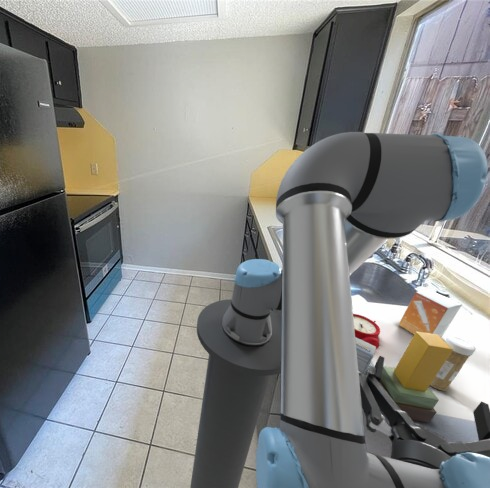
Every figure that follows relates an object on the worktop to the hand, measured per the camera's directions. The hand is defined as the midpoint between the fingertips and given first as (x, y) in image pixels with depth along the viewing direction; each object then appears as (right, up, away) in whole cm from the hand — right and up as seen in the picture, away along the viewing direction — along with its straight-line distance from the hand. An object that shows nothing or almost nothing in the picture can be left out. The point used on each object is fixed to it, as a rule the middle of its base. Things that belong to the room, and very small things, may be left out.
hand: (425, 382), depth 47 cm
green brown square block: (+5, -11, +12) cm, 17 cm away
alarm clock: (+10, -3, +30) cm, 32 cm away
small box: (+31, -2, +33) cm, 46 cm away
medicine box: (-1, -7, +20) cm, 21 cm away
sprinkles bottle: (+19, -9, +17) cm, 27 cm away
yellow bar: (+5, -5, +9) cm, 12 cm away
